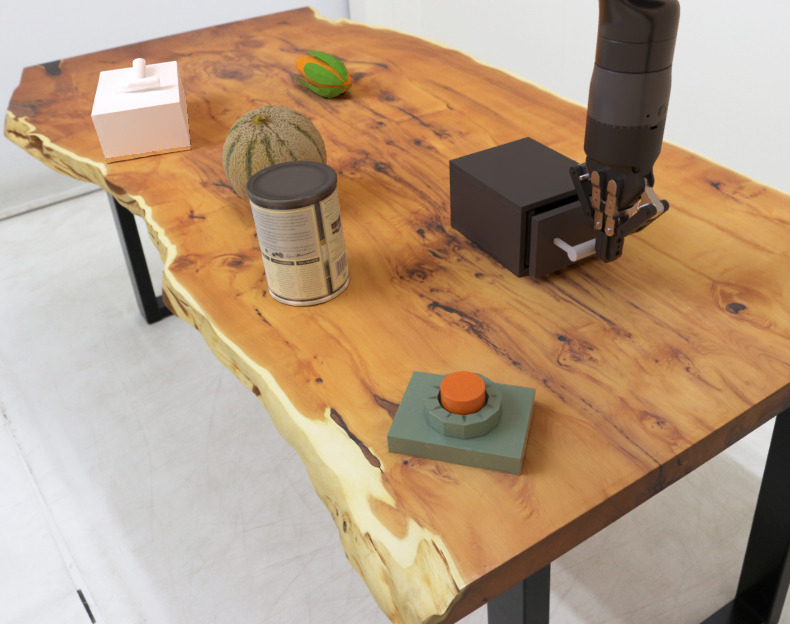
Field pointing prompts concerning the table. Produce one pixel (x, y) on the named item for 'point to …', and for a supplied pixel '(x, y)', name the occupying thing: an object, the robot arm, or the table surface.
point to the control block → (464, 426)
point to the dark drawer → (558, 236)
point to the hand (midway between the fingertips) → (607, 258)
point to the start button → (462, 393)
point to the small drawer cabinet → (506, 195)
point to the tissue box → (141, 109)
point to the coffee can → (300, 231)
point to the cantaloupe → (269, 143)
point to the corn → (324, 74)
